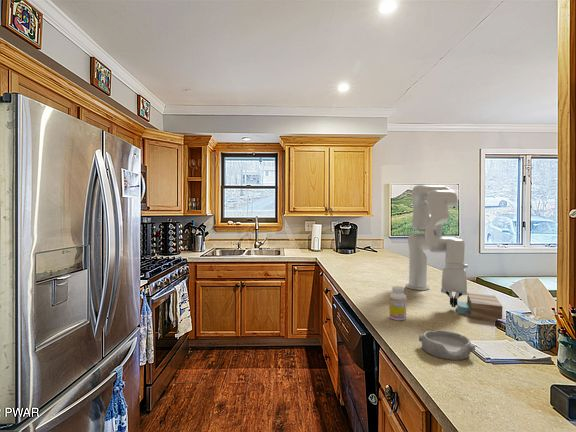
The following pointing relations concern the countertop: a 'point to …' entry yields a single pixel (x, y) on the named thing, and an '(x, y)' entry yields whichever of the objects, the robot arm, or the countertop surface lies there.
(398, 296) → the supplement bottle
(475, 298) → the shelf dock
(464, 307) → the pale blue foam block
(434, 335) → the dish
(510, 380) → the countertop surface
